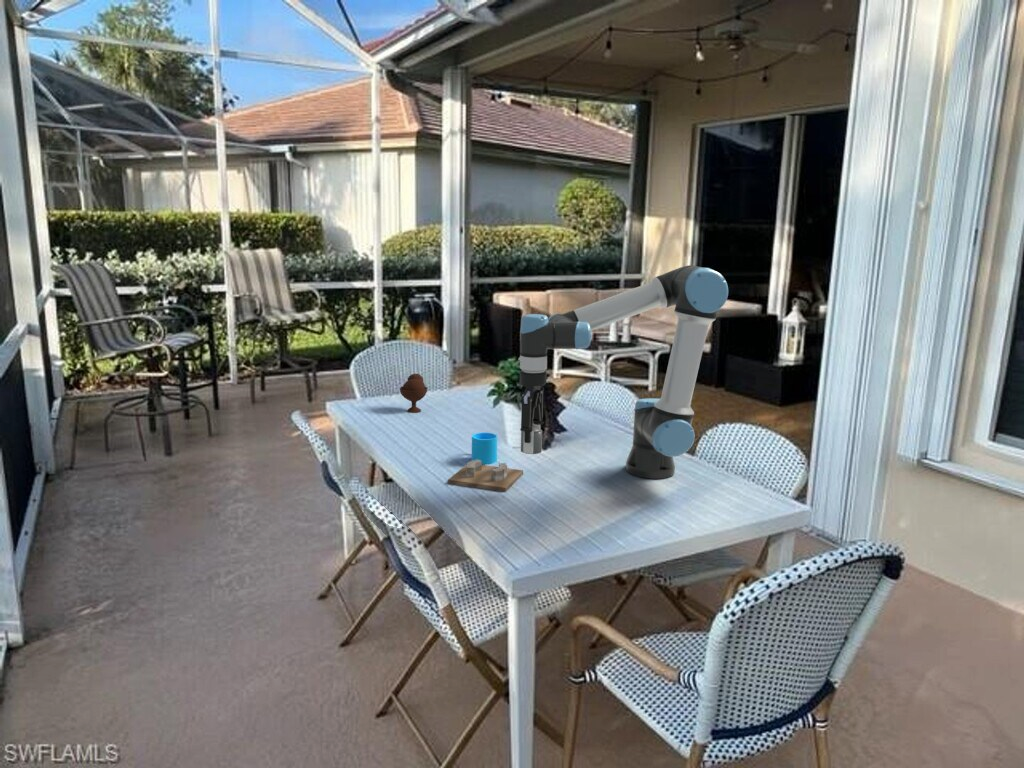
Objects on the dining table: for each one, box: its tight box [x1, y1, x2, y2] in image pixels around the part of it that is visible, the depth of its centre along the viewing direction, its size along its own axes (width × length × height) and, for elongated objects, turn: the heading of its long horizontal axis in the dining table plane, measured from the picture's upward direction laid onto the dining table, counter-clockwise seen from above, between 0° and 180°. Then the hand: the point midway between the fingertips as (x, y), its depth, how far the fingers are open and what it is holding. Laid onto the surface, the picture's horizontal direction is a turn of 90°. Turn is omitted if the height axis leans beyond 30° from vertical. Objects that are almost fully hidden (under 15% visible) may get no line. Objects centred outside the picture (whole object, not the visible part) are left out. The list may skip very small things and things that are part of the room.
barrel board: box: [447, 459, 524, 493], centre depth 223 cm, size 18×16×4 cm
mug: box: [471, 432, 498, 465], centre depth 241 cm, size 12×8×8 cm
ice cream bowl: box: [399, 373, 429, 414], centre depth 295 cm, size 11×11×15 cm
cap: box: [520, 427, 543, 455], centre depth 212 cm, size 6×6×6 cm
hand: (531, 449), depth 213 cm, fingers closed on cap, 6 cm apart
